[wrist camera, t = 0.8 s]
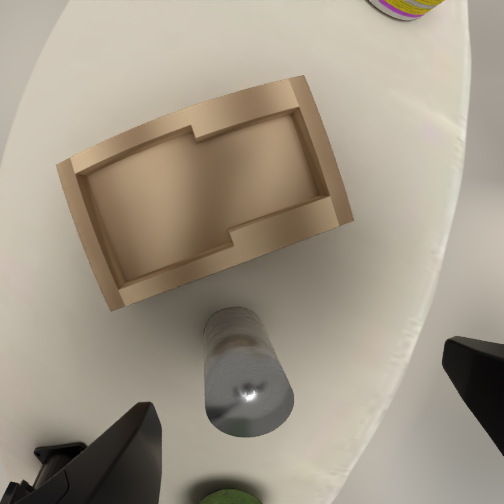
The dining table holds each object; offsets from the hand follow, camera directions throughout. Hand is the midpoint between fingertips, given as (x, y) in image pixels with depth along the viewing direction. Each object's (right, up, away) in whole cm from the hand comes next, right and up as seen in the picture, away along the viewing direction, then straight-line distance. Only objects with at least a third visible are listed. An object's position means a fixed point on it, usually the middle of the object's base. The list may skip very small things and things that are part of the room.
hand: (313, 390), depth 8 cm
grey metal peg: (-3, -2, +13) cm, 13 cm away
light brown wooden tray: (-5, +8, +11) cm, 14 cm away
